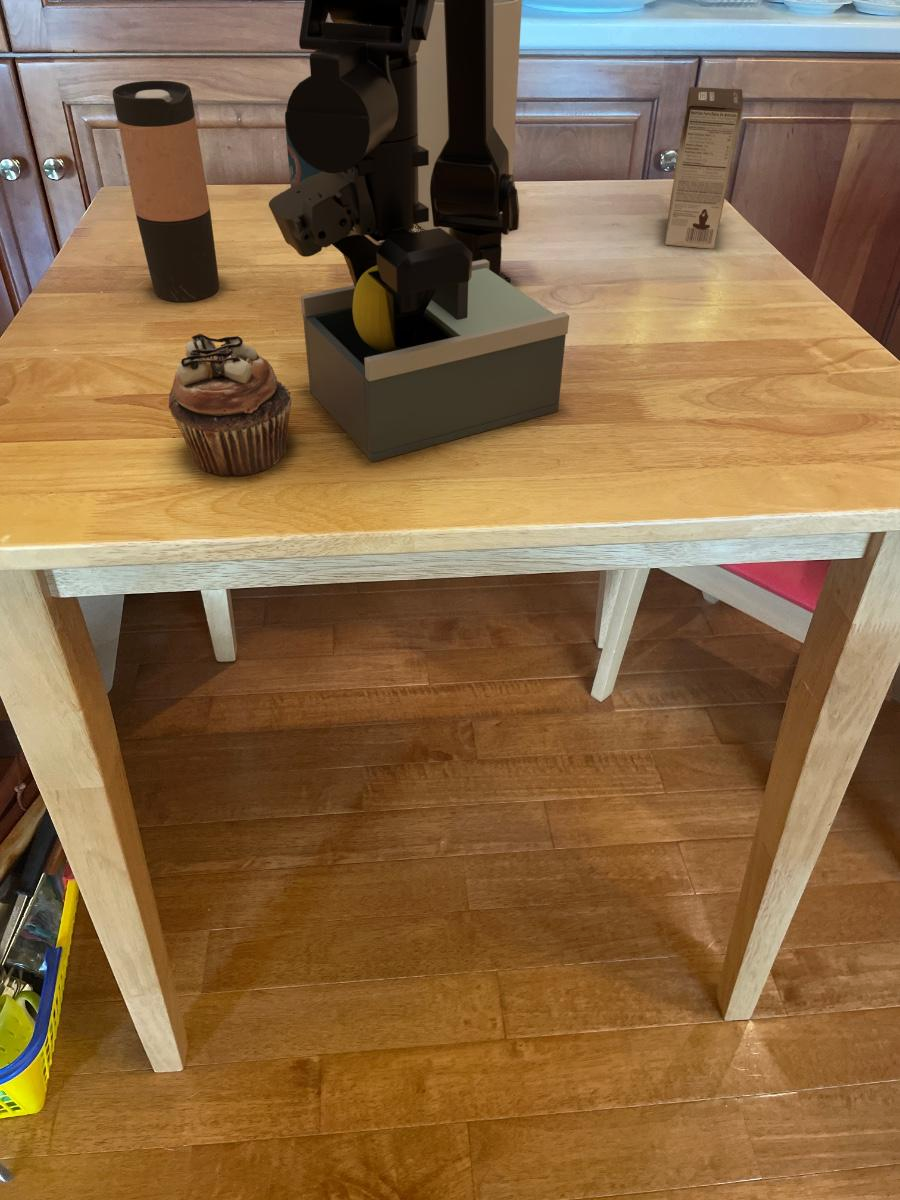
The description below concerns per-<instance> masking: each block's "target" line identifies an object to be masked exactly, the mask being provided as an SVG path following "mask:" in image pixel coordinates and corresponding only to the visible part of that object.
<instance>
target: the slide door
mask: <svg viewBox="0 0 900 1200" xmlns="http://www.w3.org/2000/svg"><path fill="white" fill-rule="evenodd" d="M424 313H425V314H427V315H428V316H429V317H430V318H431V319H433V320H434V321H435V322H436V323H438V324H439V325H440V326H441V327H443V328H444V329H445V330H446V331H447V332H449V333H450V334H451V335H452V336H454V337H457V336H462V335H466V334H471V333H475V332H479V331H484V330H488V329H492V328H497V327H501V326H505V325H510V324H514V323H519V322H523V321H527V320H532V319H536V318H540V317H545V316H549V315H553V314H555V313H554V312H552V311H551V310H549V309H548V308H546V307H545V306H543V305H542V304H541V303H539V302H537V301H536V300H534V299H533V298H532V297H530V296H529V295H527V294H526V293H525V292H523V291H521V290H520V289H518V288H517V287H516V286H514V285H513V284H511V283H508V282H507V281H505V280H504V279H502V278H501V277H499V276H498V275H496V274H495V273H493V272H492V271H490V270H489V269H487V268H483V269H478V270H473V271H472V277H471V279H470V280H469V281H468V282H463V283H459V284H454V285H449V286H444V287H440V288H438V289H437V291H436V293H435V294H434V296H433V298H432V299H431V301H430V303H429V305H428V307H427V309H426V310H425V312H424Z"/></svg>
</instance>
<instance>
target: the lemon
mask: <svg viewBox="0 0 900 1200" xmlns="http://www.w3.org/2000/svg"><path fill="white" fill-rule="evenodd" d="M377 270H378V268H377V265H376V266H374V267H371V268H370V269H368V270H367V271H366V272H365V273H363V275H362V276H361V277H360V279H359V280H358V282H357V284H356V287H355V291H354V296H353V319H354V324H355V327H356V329H357V331H358V333H359V335H360V337H361V338H362V339H363V341H364V342H366V343H367V344H368V345H369V346H371V347H373V348H375V349H377V350H380V351H381V352H382V353H388V352H392V351H394V350H396V349H399V348H397V347H396V346H395V344H394V339H393V335H392V330H391V324H390V318H389V311H388V305H387V299H386V292H385V289H384V288H383V287H382V286H381V285H380V284H379V283H377V282H376V281H375V280H374V279H373V278H371V277H370V276H369V275H368V272H372V271H377Z"/></svg>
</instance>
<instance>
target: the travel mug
mask: <svg viewBox="0 0 900 1200" xmlns="http://www.w3.org/2000/svg"><path fill="white" fill-rule="evenodd" d="M112 100H113V104H114V110H115V115H116V119H117V120H116V121H117V125H118V130H119V131H118V132H119V136H120V140H121V146H122V150H123V155H124V156H123V157H124V160H125V161H124V162H125V165H126V171H127V176H128V181H129V186H130V191H131V197H132V201H133V207H134V212H135V218H136V222H137V226H138V230H139V234H140V238H141V242H142V246H143V250H144V255H145V259H146V264H147V267H148V268H147V269H148V271H149V276H150V280H151V284H152V289H153V292H154V294H155V295H156V297H158V298H160V299H162V300H164V301H167V302H175V303H187V302H195V301H200V300H204V299H207V298H209V297H211V296H213V295H215V294H216V293H217V292H218V291H219V289H220V280H219V270H218V264H217V263H218V262H217V255H216V245H215V239H214V238H215V237H214V230H213V229H214V228H213V222H212V212H211V205H210V200H209V193H208V187H207V181H206V175H205V168H204V162H203V156H202V150H201V144H200V138H199V132H198V131H199V130H198V125H197V119H196V113H195V107H194V100H193V94H192V89H191V87H190V85H188V84H186V83H184V82H180V81H174V80H173V81H172V80H141V81H134V82H128V83H125V84H121V85H118V86H116V87H115V88H113V90H112Z"/></svg>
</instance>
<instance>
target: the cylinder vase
mask: <svg viewBox="0 0 900 1200" xmlns="http://www.w3.org/2000/svg"><path fill="white" fill-rule="evenodd" d="M522 7H523V0H494V18H493V126H494V128H495V130H496V131H497V133H498V135H499V136H500V138H501V140H502V141H503V143H504V145H505V146H506V148H507V150H508V153H509V174H511V175H513V176H514V173H513V171H514V157H515V156H514V154H515V152H514V151H515V137H516V118H517V117H516V116H517V101H518V100H517V99H518V84H519V83H518V82H519V81H518V79H519V62H520V44H521V43H520V41H521V28H522V27H521V26H522V9H523V8H522ZM416 56H417V59H416V60H417V108H418V145H420V146H421V147H423V148H425V149H427V150H428V151H429V165H426V166H419V167H418V196H419V202H420V203H422V204H423V205H425V206H427V207H428V208H429V221H428V222H422V223H417V225H418V226H419V227H420V228H421V229H423V231H425V230H430V229H436V228H441V229H442V230H444V231H445V232H447V233H448V234H449V228H448V227H434V225H433V216H432V207H431V197H430V182H431V176H432V172H433V168H434V164H435V162H436V160H437V158H438V157H439V155H440V153H441V151H442V149H443V147H444V145H445V144H446V142H447V140H448V134H449V133H448V103H447V74H446V45H445V16H444V0H435V3H434V8H433V12H432V17H431V21H430V26H429V30H428V35H427V40H426V41H424V40H421V42H420V45H419V49H418V52H417V53H416ZM500 214H502V212H500Z"/></svg>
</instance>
